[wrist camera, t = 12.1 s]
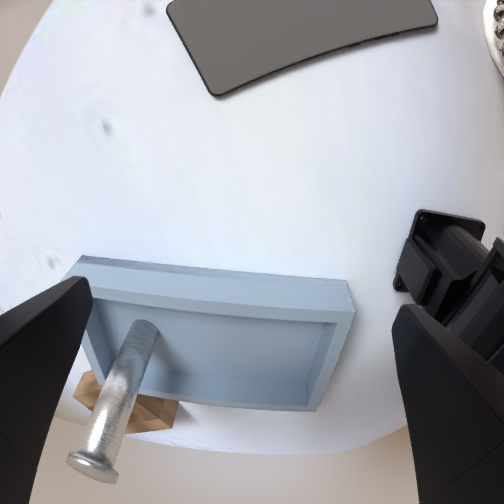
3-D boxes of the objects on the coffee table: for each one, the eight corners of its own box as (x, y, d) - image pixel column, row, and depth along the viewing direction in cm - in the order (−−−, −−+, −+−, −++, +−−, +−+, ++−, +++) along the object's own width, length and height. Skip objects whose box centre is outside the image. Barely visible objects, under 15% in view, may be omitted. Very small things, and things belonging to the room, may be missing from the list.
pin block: (127, 358, 28) (115, 385, 25) (178, 401, 31) (172, 428, 28) (83, 372, 30) (72, 396, 27) (131, 411, 34) (123, 434, 31)
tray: (345, 280, 22) (356, 311, 19) (312, 381, 28) (315, 411, 25) (82, 255, 22) (60, 280, 19) (110, 358, 28) (98, 384, 25)
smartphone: (161, 6, 13) (393, -67, 9) (166, 9, 14) (389, -62, 10) (212, 101, 16) (443, 25, 12) (215, 100, 17) (436, 27, 13)
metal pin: (165, 321, 24) (112, 474, 12) (162, 348, 25) (118, 488, 14) (127, 310, 23) (60, 454, 12) (127, 337, 25) (72, 470, 14)
